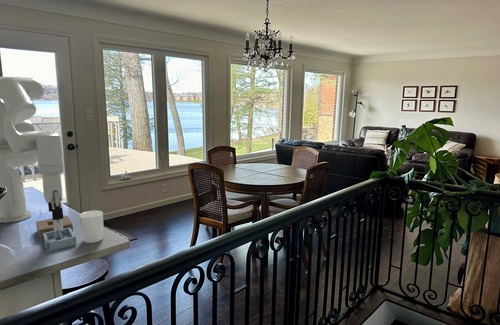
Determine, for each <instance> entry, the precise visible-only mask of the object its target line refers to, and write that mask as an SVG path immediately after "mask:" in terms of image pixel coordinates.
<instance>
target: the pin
mask: <svg viewBox="0 0 500 325" xmlns="http://www.w3.org/2000/svg"><path fill="white" fill-rule="evenodd" d="M53 227H54V236H55V241H57V240H61V239H64V230H63V220H62V219H58V220H53Z"/></svg>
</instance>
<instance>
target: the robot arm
mask: <svg viewBox="0 0 500 325" xmlns="http://www.w3.org/2000/svg"><path fill="white" fill-rule="evenodd" d="M43 96H44V87H43V85H42V83H41V82H40V81H39V80H38V78H37V79H36V78H35V77H21V76H19V77H18V76H16V77H15V76H0V144H4V143H7V144H8V145H2V146H0V187H6V188H7V193H6V195H5V196H4V198H3V199H2V200H0V223H1V224H4V223H5V224H8V223H16V222H20V221H24V220H26V219H28V218H30V217H31V216H32V211H29V210H27V204H26V194H25V188H24V181H23V180H24V179H23V177H22V175H21V174H20V173H19V172H18V171H17V170H16V169H15V168H20V167H27V166H33V165H36V164H37V168H38V174H39V175H40V176H42V189H43V198H44V200H45V202H46V203H47V205H48V212H51V219H52V218H53V220H58V219H63V216H64V212H63V209H64V208H63V206H62V201H63V197H64V196H63V187H62V186H63V184H62V176H61V174H63V173H65V169H64V157H63V148H62V147H63V146H62V138H61V135H60V134H59V133H57V132H53V131H52V130H48V129H41V130H36V129H35V126H34V124H33V123H32V121H31V120H29V119H31V118H32V117H34V116H35V114H36V113H37V107H36V105H35V103H34V102H33V101H35V100H37V101H38V100H41V99H42V98H43Z"/></svg>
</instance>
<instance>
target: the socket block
mask: <svg viewBox="0 0 500 325" xmlns="http://www.w3.org/2000/svg"><path fill="white" fill-rule="evenodd" d="M62 220H63V229H65V228H71V230H72V231H73V232H74V226H73V223H72V220H71V218H69V216H68V215H63V219H62ZM35 223H36V225H35V226H36V231H37V232H36V233H37V234H38V238H39V240H40V241H44V238H43V233H46V232H51V231H54V227H53V218H52V217H51V218H46V219H42V220H36V221H35Z"/></svg>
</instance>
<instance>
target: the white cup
mask: <svg viewBox="0 0 500 325" xmlns="http://www.w3.org/2000/svg"><path fill="white" fill-rule="evenodd" d="M78 216H79V223H80V230H81V234H82V237H83V242H84V243H86V244H95V243H97V242H100V241H102V240H103V239H104V212H103V211H102V210H97V209H96V210H88V211H83V212H81V213H80V214H79V215H78Z"/></svg>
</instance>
